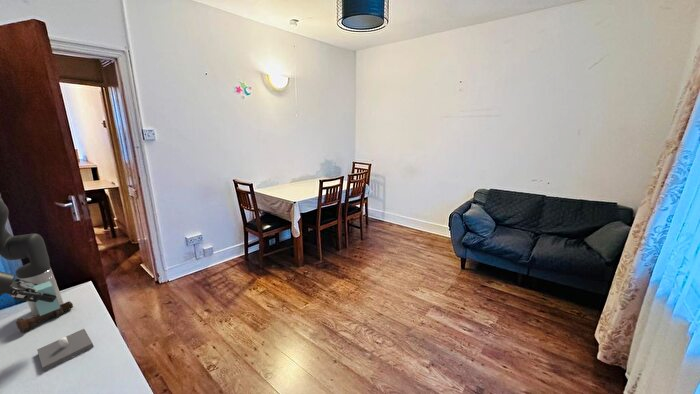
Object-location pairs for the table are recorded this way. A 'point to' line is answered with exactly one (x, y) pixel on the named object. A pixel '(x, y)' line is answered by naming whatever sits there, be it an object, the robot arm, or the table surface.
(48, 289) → the block
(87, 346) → the base plate
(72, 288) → the table surface
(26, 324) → the bolt
